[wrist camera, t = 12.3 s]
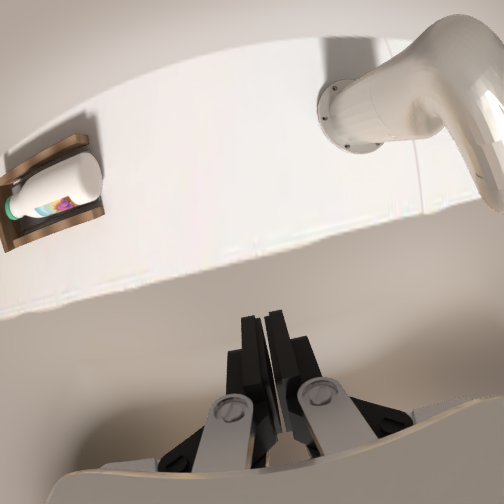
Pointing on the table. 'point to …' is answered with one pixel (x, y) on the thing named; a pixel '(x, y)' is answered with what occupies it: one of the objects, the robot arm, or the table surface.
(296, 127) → the table surface
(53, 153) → the rest
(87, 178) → the milk bottle
